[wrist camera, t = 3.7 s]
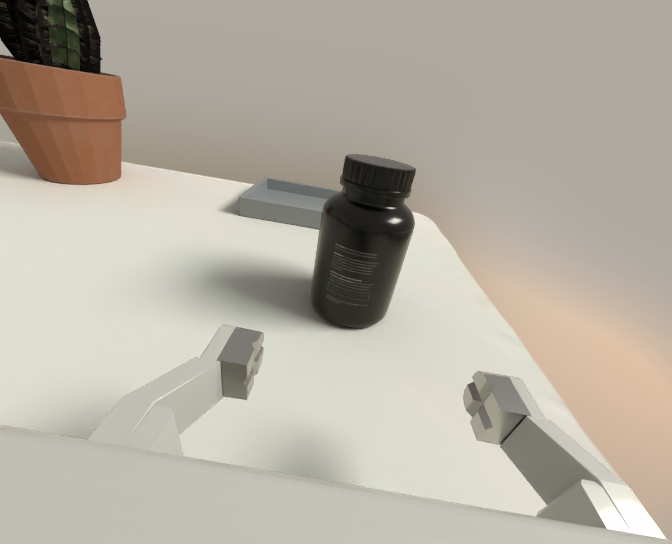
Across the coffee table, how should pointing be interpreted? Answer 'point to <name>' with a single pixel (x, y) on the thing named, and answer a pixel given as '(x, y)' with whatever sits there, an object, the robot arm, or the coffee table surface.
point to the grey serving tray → (285, 202)
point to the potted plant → (60, 91)
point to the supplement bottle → (363, 241)
